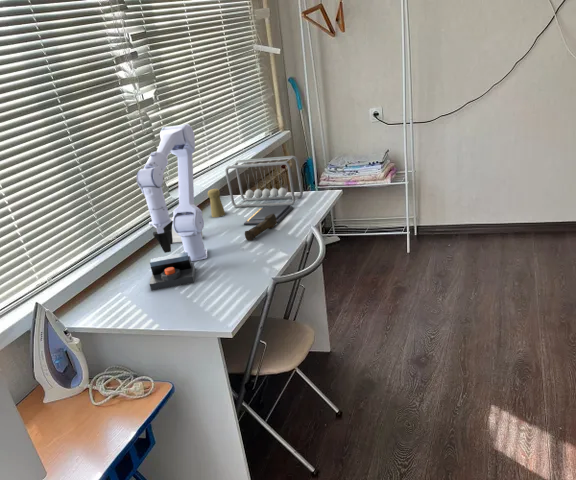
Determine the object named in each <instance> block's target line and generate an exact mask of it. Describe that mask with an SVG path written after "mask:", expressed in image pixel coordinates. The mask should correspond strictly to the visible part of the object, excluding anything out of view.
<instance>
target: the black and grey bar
mask: <svg viewBox="0 0 576 480" xmlns="http://www.w3.org/2000/svg"><path fill="white" fill-rule="evenodd" d="M192 263H193V261H191V259H190V256H188V253H187V252H185V251H184V252H179V253H175V254H169V255H164V256H159V257H154V258H153V257H152V258H150V260H149V265H150V270H151V272H152V273H151V275H152V274H153V275H159V274H161V273H162V272H164V271H165V269H166V268H169V267H174V269H179V270H186V269H191V268H192Z"/></svg>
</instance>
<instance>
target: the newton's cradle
mask: <svg viewBox="0 0 576 480" xmlns="http://www.w3.org/2000/svg"><path fill="white" fill-rule="evenodd" d="M282 160H285V161H282ZM290 160H294V161H295V165H296V173H297V179H298V186H299V195H295V189H294V181H293V176H292V169H291V165H290V163H289V161H290ZM273 161H274V162H273ZM257 162H258V163H257ZM273 166H275V168H276V172H277V177H278V182H280V183H279V185H280V188H279V189H277V188H276V187H274V186H275V183H274V180H270V183H272V184H271V186H272V188H271V189H269V188H267V185H266V184H267V183H266V182H265V181H262V183H263V184H264V185H263V187H264V189H263V190H261V189H260V188H259V185H258V182H257V181H256V179H255V177H256V178H258V175H257V172H255V175H256V176H255V175H254V172H253V171H251V173H252V176H253V180H254V183H255V188H256V189H255V190H254V191H253V190H252V189H250V188H247V190H246V191H245V193H244V192H243V186H242V181H241V175H240V171H239V169H242V171H245V169H246V168H247V169H249V168H250V169H251V170H253V169H252V168H257V167H258V169H261V167H267V171H268V174H269V178H270V179H272V177H271V174H272V175H274V173H273V172H274V171H273V169H271V172H270V170H269V167H273ZM277 166H279V168H280V169H279V170H280V173H282V170H281V166H286V167H287V174H288V180H289V185H290V192H291V195H287V194H288V192H287V189H286V188H285V187H283V186H282V184H283V180H282V178H280V175H279V172H278V169H277ZM229 169H230V170H231V169H235V172H236V173H235V174H236V177H237V183H238V187H239V193H240V197H241V199H242V202H240V203H239V204H236V203H235V199H234V193H233V189H232V184H231V179H230V175H229ZM224 171H225V177H226V181H227V187H228V191H229V196H230V201H231V204H232V206H233V207H234V208H239V209H240V208H259V207H260V208H262V207H266V206H282V205H290V206H292V205H294V204H295V203H296V201H297V200H298V199H301V198H302V197H303V195H304V191H303V183H302V176H301V169H300V161H299V159H298V157H297V156H295V155H286V156H285V155H284V156H273V157H272V156H271V157H260V158H249V159H247V158H246V159H238V160H236V161H235V162H234V163H233V164H232V165H228V166H226V168H225V170H224ZM259 172H260V174H261V180H264V178H263V175H264V177H266V174H265V171H263V175H262V171H261V170H259ZM243 173H244V175H246V174H245V173H246V172H243ZM270 173H271V174H270ZM247 177H248V179H247V178H246V176H244V179H247V180H248V181H247V180H245V181H246V183H248V182H250V179H249V177H250V176H249V175H247ZM247 187H249V184H247ZM244 194H245V195H244ZM291 199H292V201H290V202H272V203H270V202H269V203H249V204H248V203H246V204H243V203H245V202H253V201H254V202H255V201H272V200H275V201H276V200H291Z"/></svg>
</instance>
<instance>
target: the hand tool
mask: <svg viewBox="0 0 576 480" xmlns="http://www.w3.org/2000/svg"><path fill="white" fill-rule="evenodd" d="M276 223H277V220H276V216H275V214H270V215H268V216H266V217H265V220H264V221H263V222H261V223H260V224H258V225H254V226H253V227H251V228H250V229H248V230H244V237H245V239H246V241H248V242H249V241H254V239H256V238H257V237H258V236H259V235H261V234H262V233H264V232H266V231H267V230H270V229H271V230H272V229H273V228H275V226H276V225H277V224H278V223H277V224H276Z"/></svg>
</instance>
